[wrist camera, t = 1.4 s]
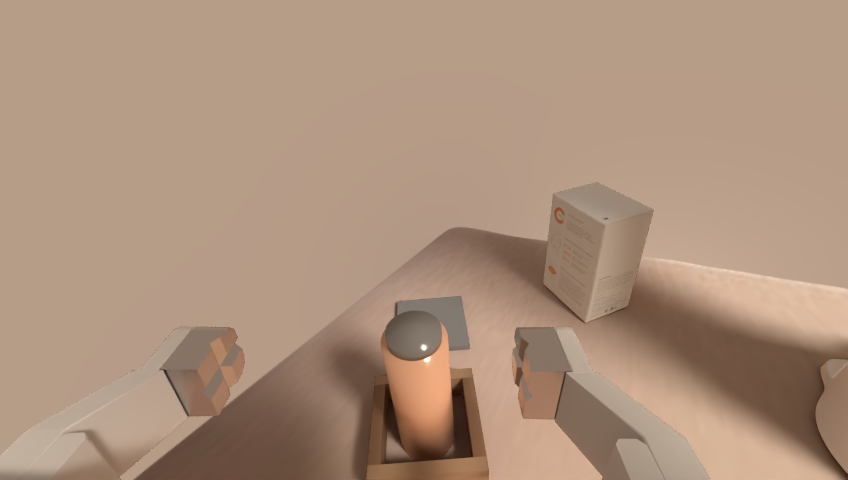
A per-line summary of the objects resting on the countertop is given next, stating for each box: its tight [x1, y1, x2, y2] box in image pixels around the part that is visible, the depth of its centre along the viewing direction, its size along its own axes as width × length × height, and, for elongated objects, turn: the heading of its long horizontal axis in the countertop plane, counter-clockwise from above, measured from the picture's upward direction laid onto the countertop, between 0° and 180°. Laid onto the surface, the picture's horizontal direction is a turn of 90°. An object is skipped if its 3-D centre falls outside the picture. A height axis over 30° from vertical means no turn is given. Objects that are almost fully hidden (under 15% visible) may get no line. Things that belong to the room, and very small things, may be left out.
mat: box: [397, 296, 470, 351], centre depth 44 cm, size 8×8×1 cm
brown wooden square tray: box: [366, 368, 489, 480], centre depth 32 cm, size 9×9×2 cm
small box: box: [543, 182, 654, 322], centre depth 43 cm, size 8×6×13 cm
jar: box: [381, 310, 454, 461], centre depth 30 cm, size 5×5×13 cm
